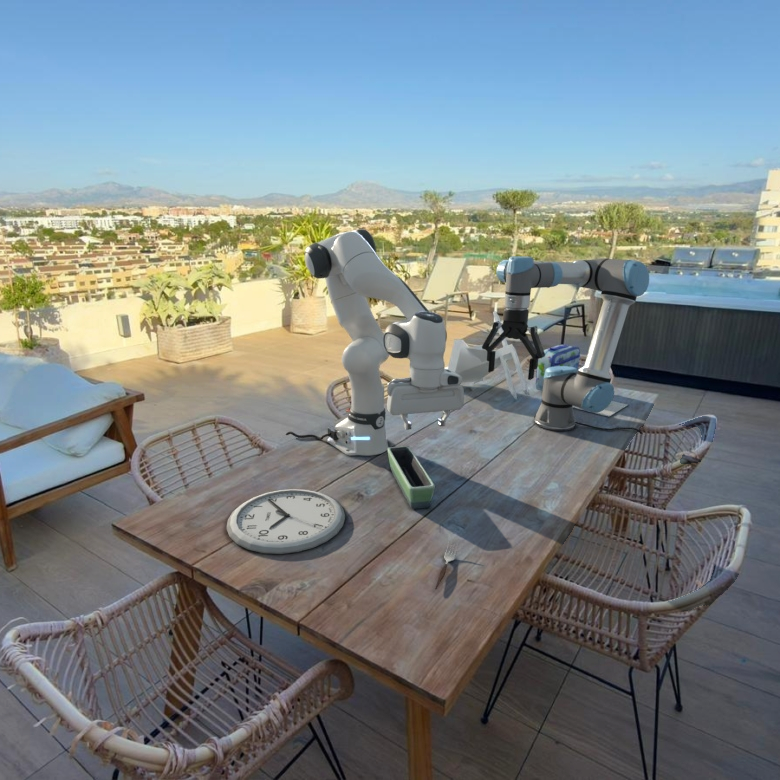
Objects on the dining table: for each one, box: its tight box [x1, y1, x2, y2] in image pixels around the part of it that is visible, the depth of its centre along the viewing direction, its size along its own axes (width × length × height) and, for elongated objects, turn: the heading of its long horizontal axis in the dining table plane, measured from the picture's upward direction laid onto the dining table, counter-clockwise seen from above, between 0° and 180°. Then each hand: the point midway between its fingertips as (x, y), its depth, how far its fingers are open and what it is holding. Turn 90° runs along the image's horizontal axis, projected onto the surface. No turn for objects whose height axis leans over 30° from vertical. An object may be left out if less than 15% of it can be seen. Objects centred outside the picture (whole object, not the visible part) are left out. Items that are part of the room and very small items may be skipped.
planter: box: [386, 445, 436, 510], centre depth 152 cm, size 28×7×7 cm, turn 13°
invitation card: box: [573, 400, 629, 418], centre depth 226 cm, size 21×1×15 cm
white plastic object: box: [444, 310, 531, 400], centre depth 245 cm, size 37×45×31 cm
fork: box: [434, 542, 459, 590], centre depth 116 cm, size 3×16×2 cm, turn 160°
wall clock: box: [226, 488, 346, 555], centre depth 135 cm, size 30×2×30 cm
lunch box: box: [535, 344, 581, 392], centre depth 247 cm, size 26×11×21 cm, turn 134°
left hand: (424, 427), depth 137 cm, fingers open, 8 cm apart
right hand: (510, 375), depth 167 cm, fingers open, 13 cm apart
